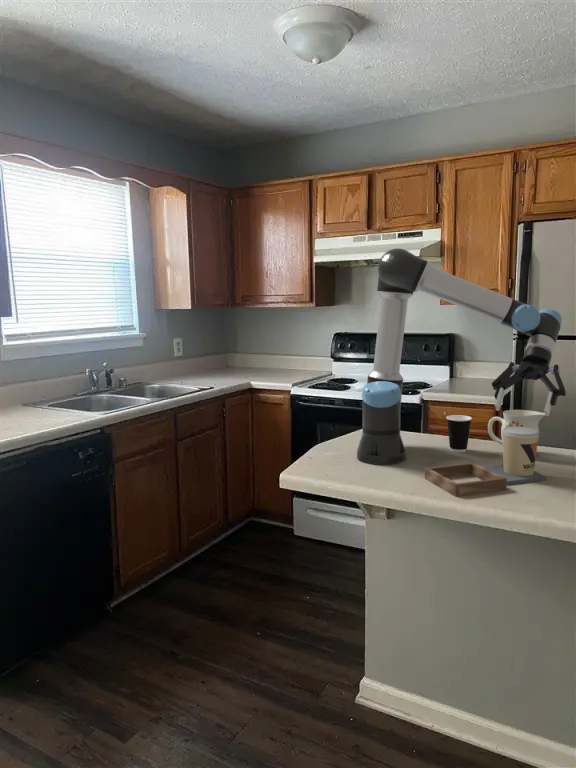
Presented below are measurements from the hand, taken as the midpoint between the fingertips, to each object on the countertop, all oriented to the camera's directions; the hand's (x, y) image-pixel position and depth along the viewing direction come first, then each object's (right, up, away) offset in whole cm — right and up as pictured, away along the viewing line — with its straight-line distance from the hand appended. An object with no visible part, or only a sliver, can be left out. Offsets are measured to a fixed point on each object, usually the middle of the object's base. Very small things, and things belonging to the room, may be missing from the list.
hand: (520, 410), depth 158 cm
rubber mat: (-4, -18, -3) cm, 19 cm away
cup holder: (-19, -19, -9) cm, 29 cm away
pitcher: (+6, -15, +19) cm, 24 cm away
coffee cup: (-2, -17, -3) cm, 18 cm away
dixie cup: (-11, -14, +23) cm, 29 cm away
